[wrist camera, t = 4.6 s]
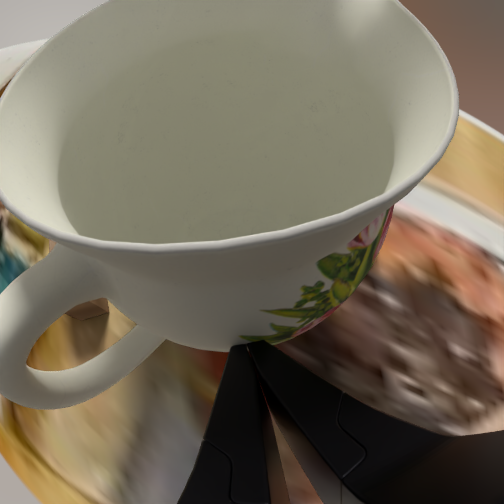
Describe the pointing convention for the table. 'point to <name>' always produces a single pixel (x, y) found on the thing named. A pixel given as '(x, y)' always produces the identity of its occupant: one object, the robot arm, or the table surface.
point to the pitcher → (210, 171)
